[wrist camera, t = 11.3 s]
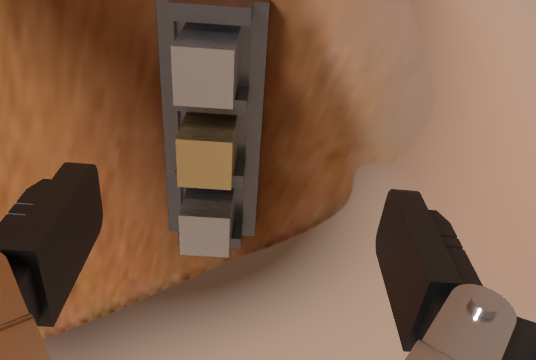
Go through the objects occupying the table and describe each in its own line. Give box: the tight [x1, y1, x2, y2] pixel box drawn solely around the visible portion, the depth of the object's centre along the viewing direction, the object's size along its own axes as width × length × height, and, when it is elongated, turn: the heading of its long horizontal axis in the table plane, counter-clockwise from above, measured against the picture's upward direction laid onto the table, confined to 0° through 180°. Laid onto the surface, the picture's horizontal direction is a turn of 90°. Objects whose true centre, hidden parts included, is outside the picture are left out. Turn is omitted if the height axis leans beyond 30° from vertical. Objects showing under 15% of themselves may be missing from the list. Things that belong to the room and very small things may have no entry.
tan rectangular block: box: [175, 112, 238, 190], centre depth 36 cm, size 4×4×6 cm
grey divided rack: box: [156, 0, 270, 258], centre depth 37 cm, size 8×21×7 cm, turn 176°
